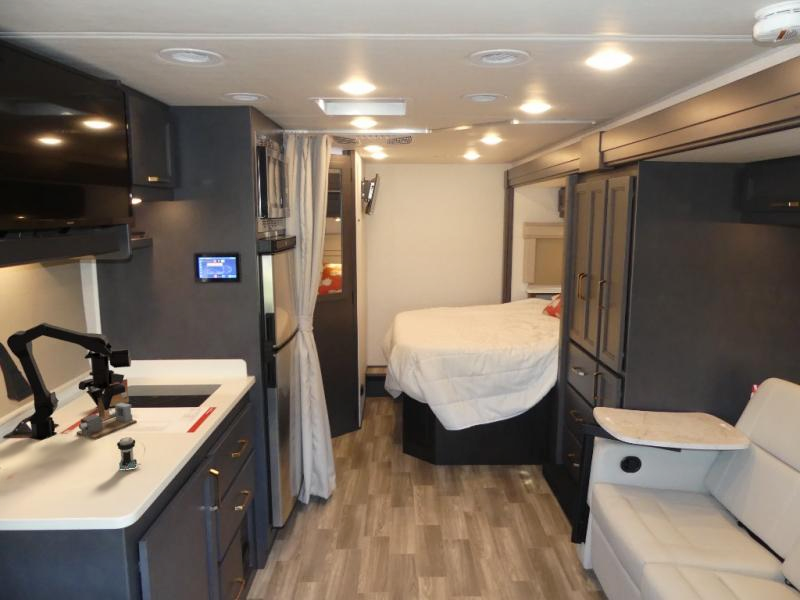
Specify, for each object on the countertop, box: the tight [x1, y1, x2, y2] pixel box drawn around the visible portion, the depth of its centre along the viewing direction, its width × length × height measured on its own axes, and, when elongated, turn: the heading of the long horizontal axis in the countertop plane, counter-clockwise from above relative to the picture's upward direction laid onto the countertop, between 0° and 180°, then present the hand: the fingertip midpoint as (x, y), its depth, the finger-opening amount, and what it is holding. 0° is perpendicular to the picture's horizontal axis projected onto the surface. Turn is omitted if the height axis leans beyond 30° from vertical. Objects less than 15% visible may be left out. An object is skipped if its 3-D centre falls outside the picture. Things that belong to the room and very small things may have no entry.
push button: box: [116, 436, 142, 471], centre depth 187 cm, size 7×5×10 cm
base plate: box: [76, 417, 138, 440], centre depth 221 cm, size 18×10×1 cm, turn 154°
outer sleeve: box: [80, 414, 103, 435], centre depth 215 cm, size 6×4×6 cm
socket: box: [114, 403, 134, 422], centre depth 227 cm, size 3×6×6 cm, turn 65°
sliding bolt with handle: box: [78, 397, 116, 431], centre depth 217 cm, size 14×3×9 cm, turn 154°
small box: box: [102, 377, 129, 408], centre depth 248 cm, size 8×6×10 cm
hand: (103, 409), depth 219 cm, fingers closed on sliding bolt with handle, 3 cm apart
